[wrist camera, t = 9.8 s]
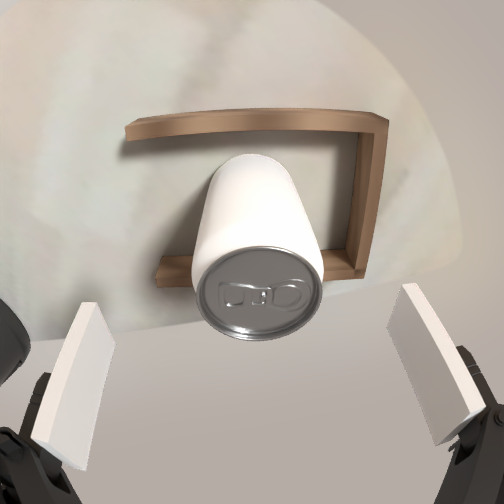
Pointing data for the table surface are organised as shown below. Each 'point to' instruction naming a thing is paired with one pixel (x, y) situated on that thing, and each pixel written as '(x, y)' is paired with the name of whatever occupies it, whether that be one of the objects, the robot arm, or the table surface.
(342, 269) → the open wooden frame
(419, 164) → the table surface
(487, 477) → the robot arm
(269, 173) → the can
